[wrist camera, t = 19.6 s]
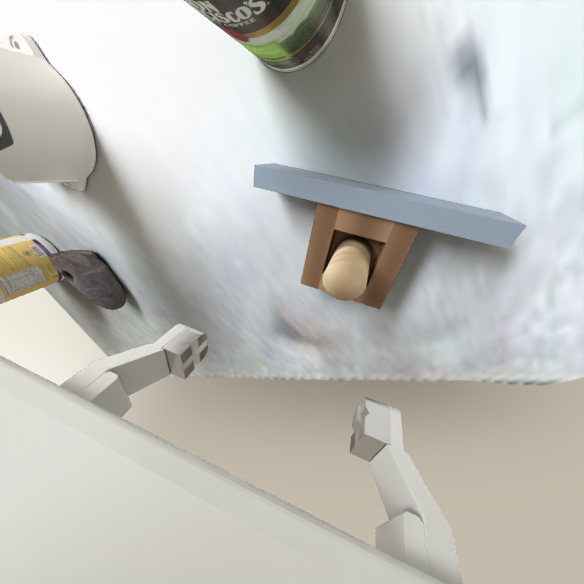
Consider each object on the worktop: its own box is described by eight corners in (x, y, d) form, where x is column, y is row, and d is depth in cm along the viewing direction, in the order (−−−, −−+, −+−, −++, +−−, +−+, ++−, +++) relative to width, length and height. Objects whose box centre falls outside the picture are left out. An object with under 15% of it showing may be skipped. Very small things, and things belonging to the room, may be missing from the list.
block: (310, 268, 32) (300, 283, 28) (327, 194, 26) (317, 201, 22) (380, 290, 30) (380, 309, 26) (415, 215, 24) (421, 226, 20)
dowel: (333, 261, 28) (318, 292, 22) (342, 231, 26) (328, 256, 20) (364, 270, 27) (358, 305, 21) (376, 240, 25) (373, 269, 19)
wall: (272, 181, 27) (253, 186, 23) (274, 163, 26) (254, 165, 22) (486, 232, 23) (508, 249, 19) (500, 212, 21) (526, 225, 17)
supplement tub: (42, 268, 59) (-59, 302, 45) (19, 224, 52) (-109, 249, 38) (77, 285, 57) (-18, 325, 43) (58, 241, 50) (-62, 273, 36)
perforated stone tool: (138, 298, 51) (107, 316, 45) (126, 302, 53) (96, 320, 48) (90, 238, 46) (49, 249, 40) (80, 245, 48) (41, 257, 42)
